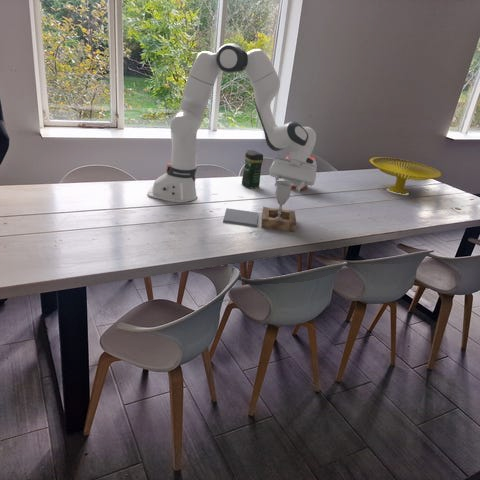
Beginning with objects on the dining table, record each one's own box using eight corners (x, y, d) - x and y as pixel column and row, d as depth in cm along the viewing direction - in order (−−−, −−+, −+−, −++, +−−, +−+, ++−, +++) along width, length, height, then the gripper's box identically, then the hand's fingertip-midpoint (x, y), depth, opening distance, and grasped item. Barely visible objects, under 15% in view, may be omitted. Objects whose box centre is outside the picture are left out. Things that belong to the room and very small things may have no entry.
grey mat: (223, 222, 178) (223, 220, 177) (226, 210, 191) (226, 208, 190) (256, 226, 178) (256, 224, 177) (257, 214, 190) (257, 212, 190)
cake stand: (393, 178, 277) (400, 156, 270) (448, 200, 247) (457, 175, 240) (348, 182, 256) (354, 157, 250) (402, 206, 226) (410, 179, 220)
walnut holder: (261, 227, 178) (262, 218, 176) (261, 215, 190) (263, 206, 189) (294, 232, 178) (296, 223, 176) (293, 219, 190) (294, 211, 189)
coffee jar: (261, 188, 225) (266, 153, 217) (249, 189, 221) (253, 154, 213) (251, 182, 232) (256, 148, 225) (239, 183, 228) (243, 149, 220)
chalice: (274, 227, 180) (281, 186, 172) (266, 220, 185) (272, 180, 177) (289, 225, 183) (296, 185, 175) (280, 219, 188) (287, 180, 181)
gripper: (274, 152, 187) (263, 179, 182) (319, 162, 180) (309, 190, 176) (275, 160, 192) (265, 186, 188) (320, 170, 186) (310, 197, 182)
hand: (286, 188), depth 182 cm, fingers open, 8 cm apart
